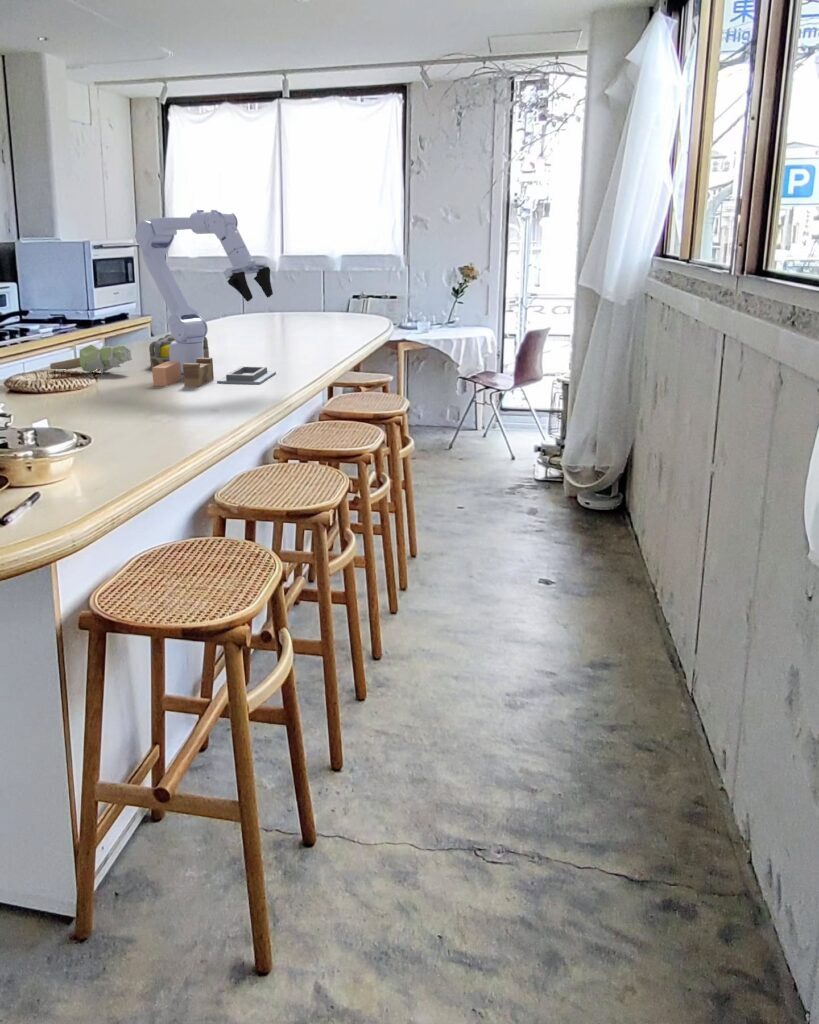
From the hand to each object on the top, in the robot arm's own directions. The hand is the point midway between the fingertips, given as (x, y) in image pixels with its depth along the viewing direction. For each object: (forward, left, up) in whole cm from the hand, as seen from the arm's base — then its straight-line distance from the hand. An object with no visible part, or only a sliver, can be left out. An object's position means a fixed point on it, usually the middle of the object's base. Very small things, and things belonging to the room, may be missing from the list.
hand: (260, 297), depth 228 cm
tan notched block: (-16, -6, -23) cm, 29 cm away
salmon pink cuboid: (-25, -6, -23) cm, 35 cm away
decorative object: (-53, +5, -23) cm, 57 cm away
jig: (-5, +3, -23) cm, 23 cm away
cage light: (-34, +29, -23) cm, 50 cm away
